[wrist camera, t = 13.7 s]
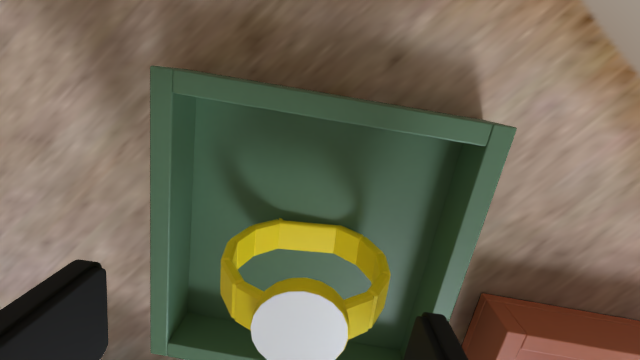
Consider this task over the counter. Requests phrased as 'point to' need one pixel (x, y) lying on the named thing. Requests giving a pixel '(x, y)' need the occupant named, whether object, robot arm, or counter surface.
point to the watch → (302, 291)
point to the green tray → (307, 202)
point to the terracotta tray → (547, 333)
